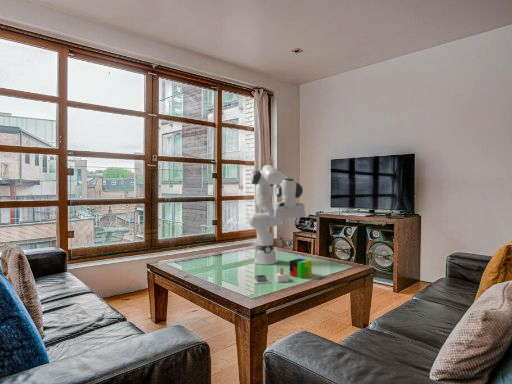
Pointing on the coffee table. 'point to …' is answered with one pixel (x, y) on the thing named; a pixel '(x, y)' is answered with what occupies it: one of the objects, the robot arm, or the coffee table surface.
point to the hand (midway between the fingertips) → (289, 224)
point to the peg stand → (281, 276)
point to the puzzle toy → (300, 268)
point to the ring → (260, 278)
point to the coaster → (260, 282)
